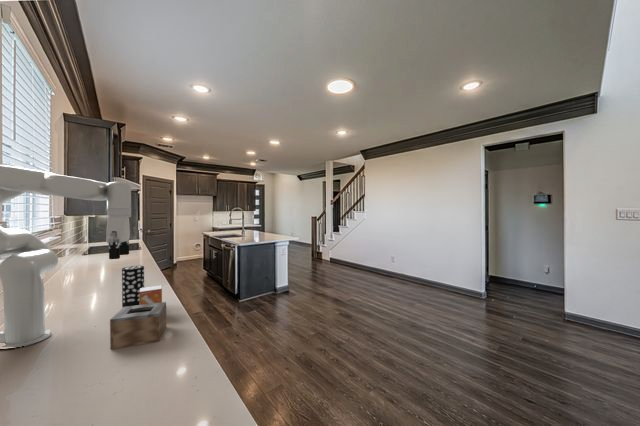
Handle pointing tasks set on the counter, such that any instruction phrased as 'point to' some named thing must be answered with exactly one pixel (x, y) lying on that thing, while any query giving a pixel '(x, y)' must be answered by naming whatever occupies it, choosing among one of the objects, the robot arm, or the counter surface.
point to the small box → (150, 295)
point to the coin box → (138, 325)
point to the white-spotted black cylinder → (132, 285)
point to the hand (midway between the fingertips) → (119, 256)
